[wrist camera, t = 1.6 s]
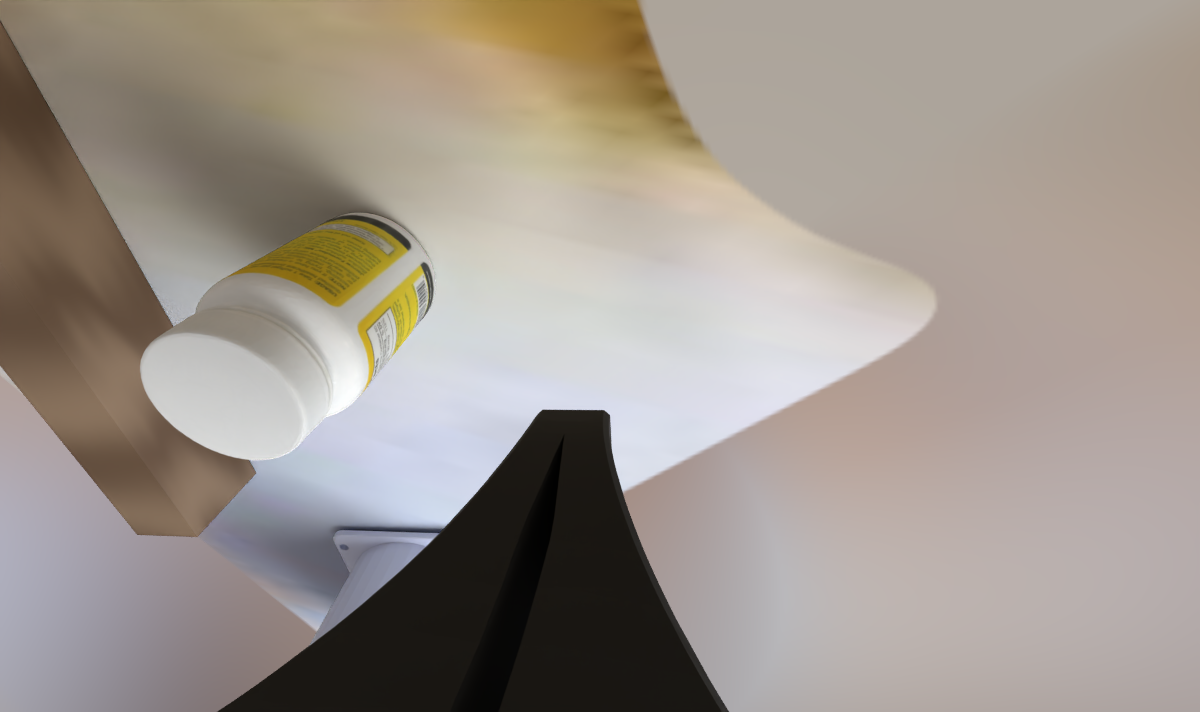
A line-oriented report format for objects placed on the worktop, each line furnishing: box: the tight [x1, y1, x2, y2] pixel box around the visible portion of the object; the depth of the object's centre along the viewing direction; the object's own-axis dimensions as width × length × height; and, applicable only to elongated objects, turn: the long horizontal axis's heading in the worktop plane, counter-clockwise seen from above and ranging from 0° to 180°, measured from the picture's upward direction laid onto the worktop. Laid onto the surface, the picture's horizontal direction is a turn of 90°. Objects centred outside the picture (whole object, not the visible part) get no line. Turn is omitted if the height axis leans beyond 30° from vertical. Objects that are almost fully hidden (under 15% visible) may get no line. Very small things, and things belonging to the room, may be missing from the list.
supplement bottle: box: [140, 213, 436, 460], centre depth 16 cm, size 5×5×8 cm
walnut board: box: [0, 22, 256, 537], centre depth 19 cm, size 22×3×4 cm, turn 3°
